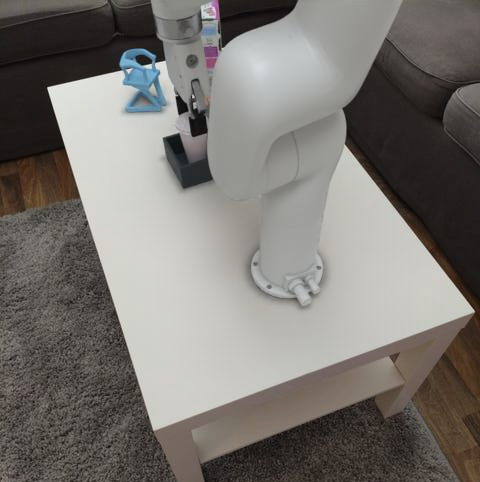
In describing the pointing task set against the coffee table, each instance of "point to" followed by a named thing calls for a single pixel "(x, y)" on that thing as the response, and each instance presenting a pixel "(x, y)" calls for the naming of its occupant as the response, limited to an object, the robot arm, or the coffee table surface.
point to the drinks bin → (185, 163)
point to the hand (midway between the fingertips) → (192, 123)
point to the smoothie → (191, 139)
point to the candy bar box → (211, 35)
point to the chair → (142, 80)
